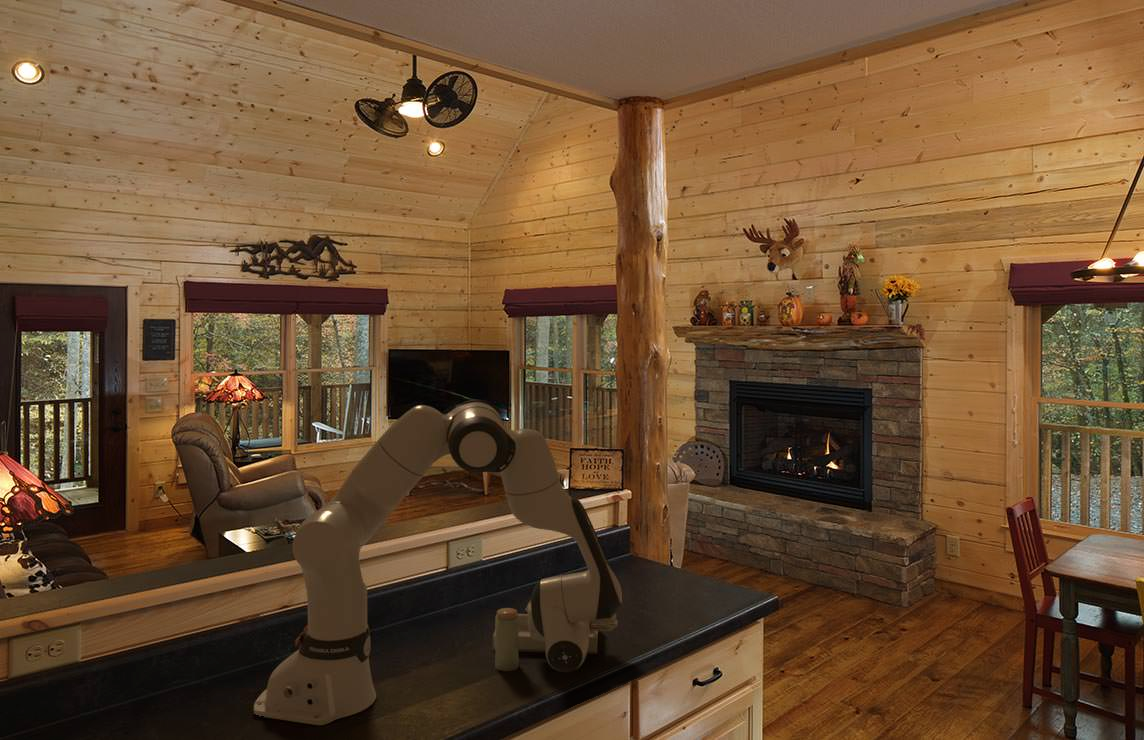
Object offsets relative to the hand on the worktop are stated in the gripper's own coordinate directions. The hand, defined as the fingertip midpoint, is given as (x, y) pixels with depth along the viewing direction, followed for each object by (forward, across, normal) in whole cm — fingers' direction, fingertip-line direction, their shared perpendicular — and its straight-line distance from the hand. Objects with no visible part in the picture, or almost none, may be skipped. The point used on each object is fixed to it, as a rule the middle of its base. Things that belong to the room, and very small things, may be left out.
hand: (573, 603), depth 177 cm
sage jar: (-15, +14, +9) cm, 22 cm away
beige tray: (-1, +6, +9) cm, 11 cm away
